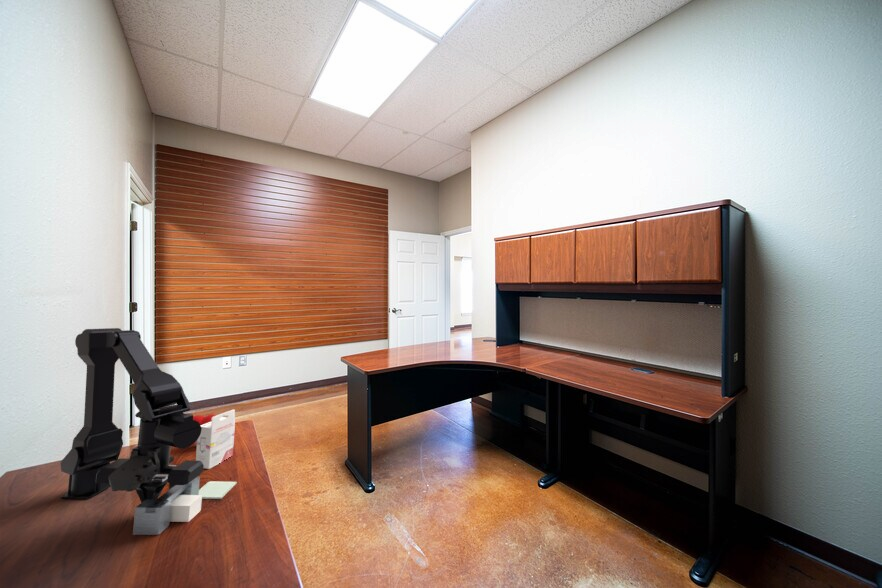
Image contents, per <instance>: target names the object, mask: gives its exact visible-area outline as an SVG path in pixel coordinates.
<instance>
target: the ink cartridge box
mask: <svg viewBox="0 0 882 588" xmlns="http://www.w3.org/2000/svg"><path fill="white" fill-rule="evenodd" d="M211 420H212V421H211V422H208V423H206V424H203V425H200V426H201V428H202V430H201V434H200V436H199V438H198V440H197V441H196V443H197V445H196V453H195V461H201V462H202V463H203V465H204V467H203V470H204V469H205V470H210V469H212V468H214V467H215V466H217V465H219V463H220V464H221V463H223V462H225V461H227V460H229V459H230V458H229V457H231V456H232V457H233V456H234V444H235V442H234V441H235V429H236V428H235V426H236V410H235V409H231V410H227V411H225V412H221V413H219V414H217V415H216V416H214V417H212V419H211ZM232 457H231V458H232ZM228 458H229V459H228ZM226 459H227V460H226ZM224 460H225V461H224Z"/></svg>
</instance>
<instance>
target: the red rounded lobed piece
mask: <svg viewBox="0 0 882 588" xmlns="http://www.w3.org/2000/svg"><path fill="white" fill-rule="evenodd" d="M214 416H217V415H216V414H208V415H205V416H204V415H200V414H199V415H197V414H196V415H193V420H195V421H197V422H199V424H200V425H203V424H206V423H208V422H211V421H212V420H211V419H212V417H214ZM195 443H196V446H197V442H195Z"/></svg>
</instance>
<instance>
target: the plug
mask: <svg viewBox="0 0 882 588" xmlns="http://www.w3.org/2000/svg"><path fill="white" fill-rule="evenodd" d="M202 501H203V499H202V495H178V496H176V497H175V498H174V499H173V500H171V510H170V521H169V523H170V522H172V523H174V522H175V523H176V522H177V523H179V522H181V523H189V522H190V521H191V520H193V518H194V517H196V515H198V513H200V512H201V510H202Z"/></svg>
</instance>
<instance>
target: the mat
mask: <svg viewBox="0 0 882 588" xmlns="http://www.w3.org/2000/svg"><path fill="white" fill-rule="evenodd" d="M237 484H238V481H214V480H213V481H211V480H210V481H208V482H206V484H203V486H202V487H201V488H199V494H198V495H202V500H205V499H206V500H213V499H214V500H221V499H223V498H224V496H225V495H227V494H228V493H229V491H231V489H233V488H234V486H236V485H237Z"/></svg>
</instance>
